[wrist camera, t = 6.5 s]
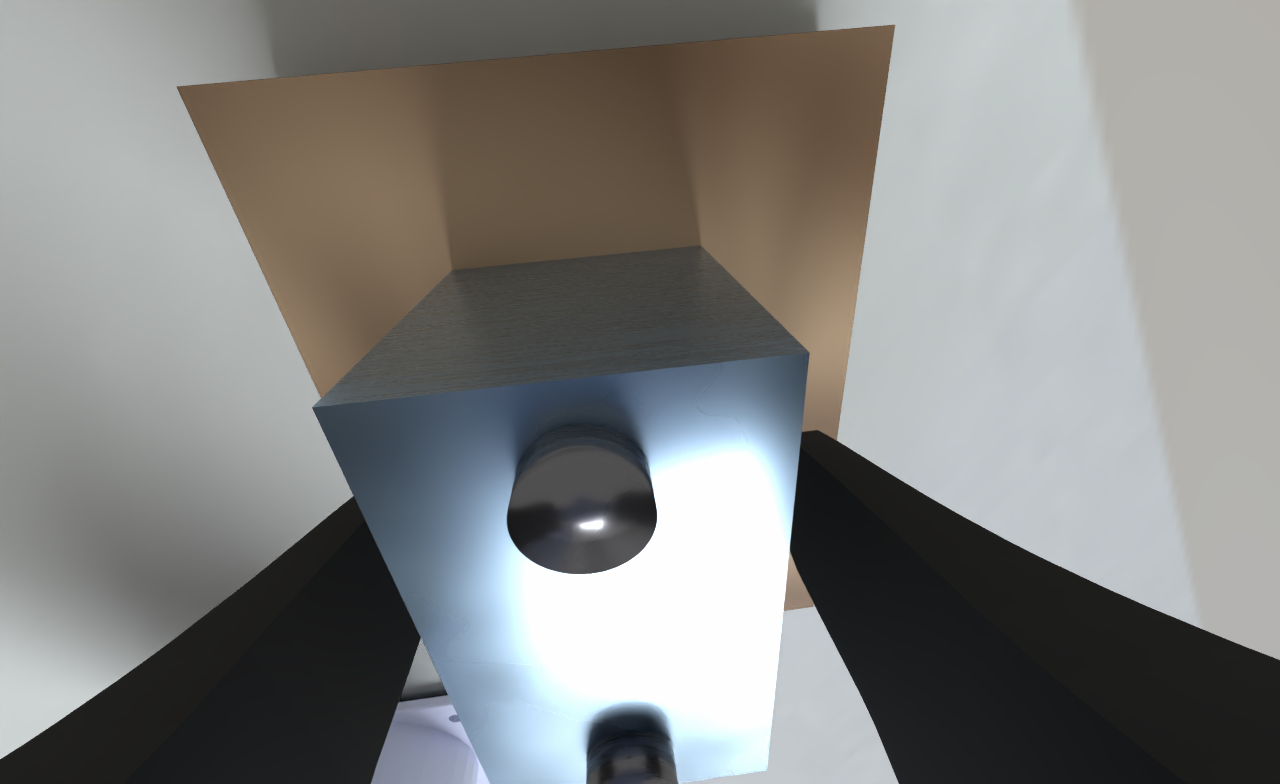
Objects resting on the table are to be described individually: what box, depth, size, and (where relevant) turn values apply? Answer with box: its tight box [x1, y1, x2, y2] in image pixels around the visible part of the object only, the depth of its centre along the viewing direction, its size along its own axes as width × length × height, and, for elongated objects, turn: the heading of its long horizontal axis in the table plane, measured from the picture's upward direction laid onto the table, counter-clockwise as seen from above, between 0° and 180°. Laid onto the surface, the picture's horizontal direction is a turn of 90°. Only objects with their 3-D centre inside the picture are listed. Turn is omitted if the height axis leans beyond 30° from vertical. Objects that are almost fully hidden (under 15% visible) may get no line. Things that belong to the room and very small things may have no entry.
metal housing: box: [312, 246, 810, 784], centre depth 8 cm, size 5×8×6 cm, turn 4°
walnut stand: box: [177, 25, 895, 611], centre depth 12 cm, size 14×11×3 cm
